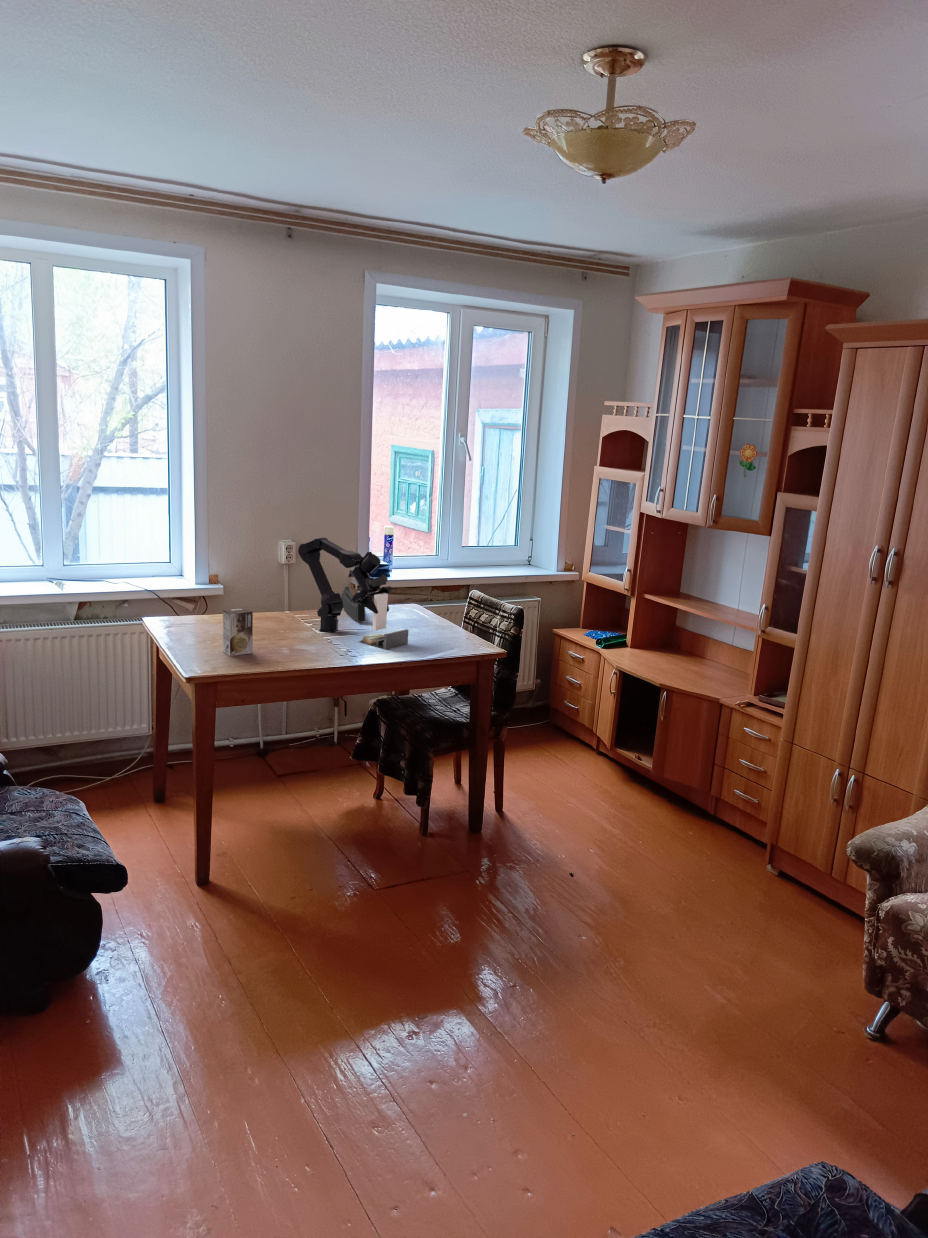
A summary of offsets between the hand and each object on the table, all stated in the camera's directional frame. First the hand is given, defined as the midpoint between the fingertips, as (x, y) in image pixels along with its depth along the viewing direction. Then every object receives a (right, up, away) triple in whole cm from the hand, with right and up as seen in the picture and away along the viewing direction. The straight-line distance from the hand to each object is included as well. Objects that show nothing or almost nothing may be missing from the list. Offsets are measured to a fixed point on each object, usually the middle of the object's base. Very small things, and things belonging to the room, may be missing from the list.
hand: (382, 612), depth 345 cm
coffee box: (-52, -15, -22) cm, 58 cm away
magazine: (-18, -2, +48) cm, 52 cm away
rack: (0, -13, +3) cm, 13 cm away
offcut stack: (-4, -11, +5) cm, 13 cm away
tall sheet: (-2, -7, +2) cm, 7 cm away
